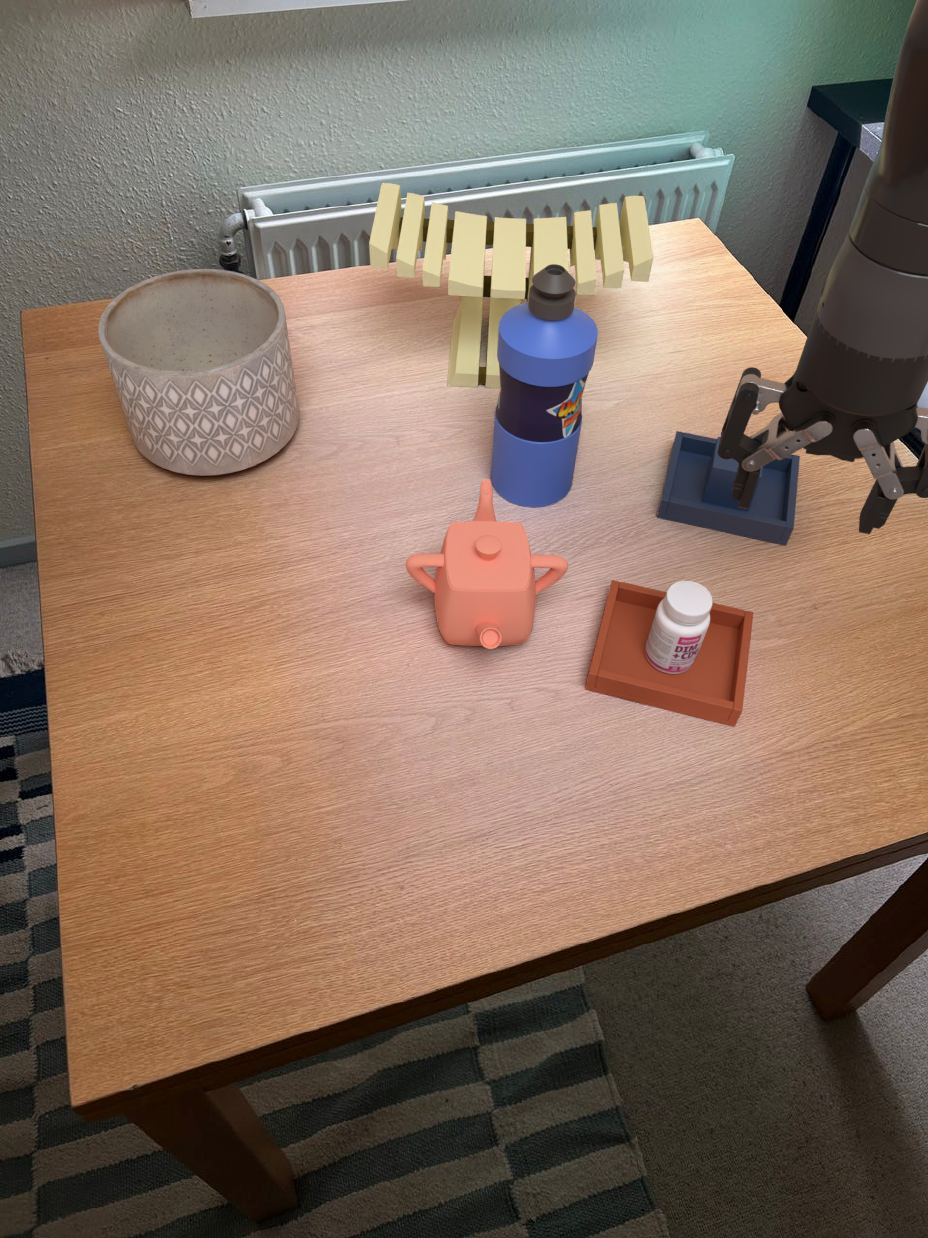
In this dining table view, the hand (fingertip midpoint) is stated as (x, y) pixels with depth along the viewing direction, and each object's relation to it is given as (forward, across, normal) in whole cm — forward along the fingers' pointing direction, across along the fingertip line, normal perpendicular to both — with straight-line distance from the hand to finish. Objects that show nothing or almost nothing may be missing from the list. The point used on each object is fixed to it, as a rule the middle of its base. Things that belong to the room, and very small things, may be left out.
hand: (803, 513), depth 66 cm
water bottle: (+22, -24, +22) cm, 39 cm away
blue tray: (+23, -3, +26) cm, 35 cm away
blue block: (+22, -3, +26) cm, 34 cm away
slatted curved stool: (+22, -34, +44) cm, 59 cm away
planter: (+21, -60, +18) cm, 66 cm away
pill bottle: (+22, -6, +2) cm, 23 cm away
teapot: (+22, -24, +2) cm, 33 cm away
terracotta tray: (+22, -6, +2) cm, 23 cm away
